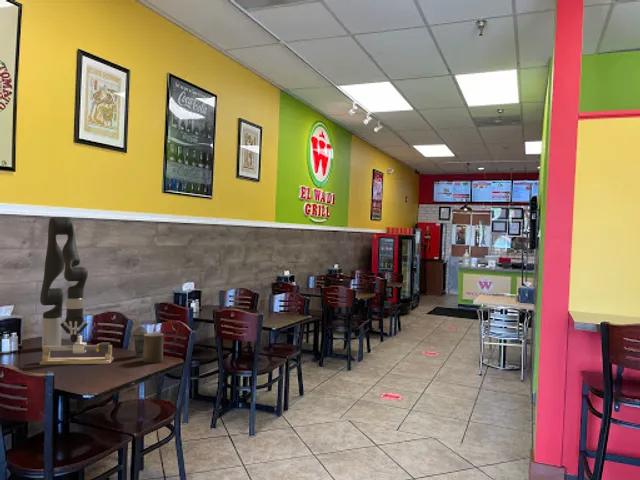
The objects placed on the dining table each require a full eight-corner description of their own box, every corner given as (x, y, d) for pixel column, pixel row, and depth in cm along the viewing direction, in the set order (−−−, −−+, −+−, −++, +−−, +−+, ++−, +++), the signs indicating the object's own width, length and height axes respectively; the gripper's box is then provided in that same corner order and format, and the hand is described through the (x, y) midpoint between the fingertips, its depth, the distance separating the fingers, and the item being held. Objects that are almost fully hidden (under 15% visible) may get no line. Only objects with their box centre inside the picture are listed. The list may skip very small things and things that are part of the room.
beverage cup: (142, 358, 254) (143, 320, 254) (129, 357, 255) (131, 319, 255) (150, 355, 261) (151, 318, 261) (137, 354, 262) (138, 317, 262)
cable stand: (45, 360, 244) (46, 342, 244) (113, 359, 250) (113, 341, 250) (39, 364, 236) (40, 345, 236) (109, 363, 242) (110, 345, 242)
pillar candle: (159, 363, 245) (161, 333, 245) (140, 363, 244) (141, 333, 244) (164, 359, 255) (166, 330, 255) (146, 358, 254) (147, 329, 254)
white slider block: (75, 351, 245) (76, 335, 245) (86, 351, 246) (86, 335, 246) (72, 353, 240) (73, 337, 240) (83, 353, 241) (84, 337, 241)
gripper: (91, 306, 247) (90, 340, 247) (63, 305, 245) (62, 340, 245) (86, 308, 240) (85, 343, 240) (58, 308, 237) (56, 343, 238)
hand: (73, 341), depth 242 cm, fingers closed
